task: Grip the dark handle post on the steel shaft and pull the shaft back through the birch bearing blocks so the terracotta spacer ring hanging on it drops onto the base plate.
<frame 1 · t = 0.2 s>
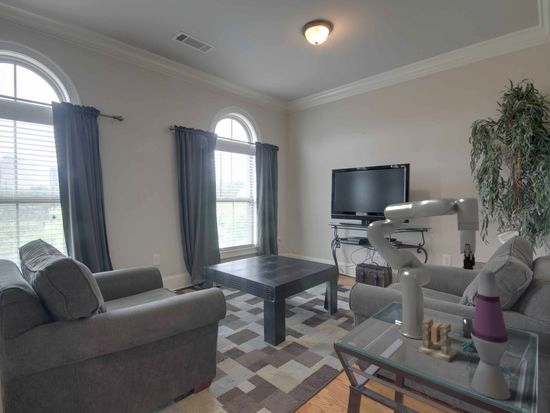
hand: (469, 267, 122), 36 cm above the table, tool pointing down, fingers open, 9 cm apart
spacer: (436, 339, 123), point 5 cm above the table, touching shaft
shaft: (446, 325, 120), point 12 cm above the table, slide at 0.0 cm, touching spacer
lamp: (490, 390, 98), on the table
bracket: (446, 355, 120), on the table
gear: (471, 351, 124), on the table
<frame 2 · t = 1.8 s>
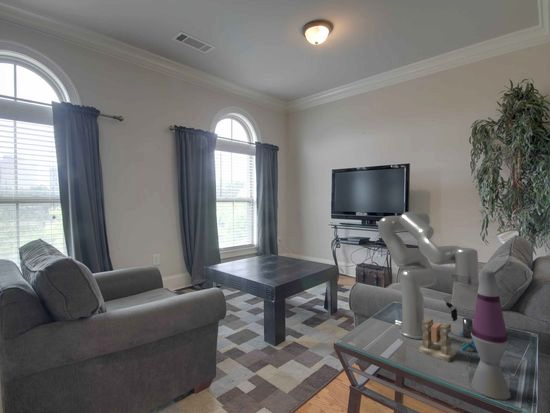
hand: (468, 323, 114), 16 cm above the table, tool pointing down, fingers open, 9 cm apart
nothing on the table moved.
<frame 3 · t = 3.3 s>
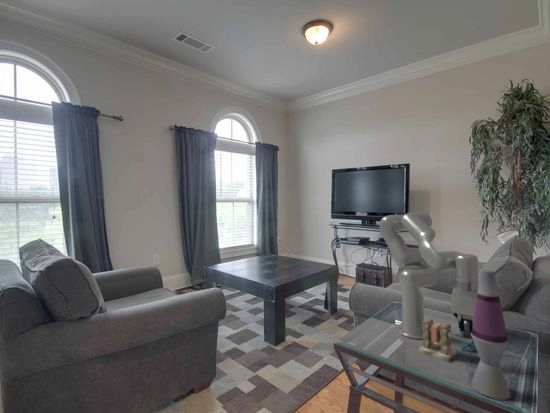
hand: (467, 331, 114), 12 cm above the table, tool pointing down, fingers closed on shaft, 3 cm apart
shaft: (446, 325, 120), point 12 cm above the table, slide at 0.0 cm, touching gripper, spacer
everything else where it was.
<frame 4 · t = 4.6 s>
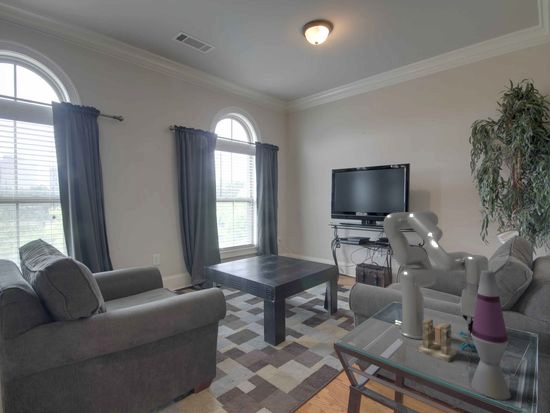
hand: (477, 334, 112), 12 cm above the table, tool pointing down, fingers closed on shaft, 3 cm apart
spacer: (440, 341, 122), point 5 cm above the table
shaft: (455, 327, 118), point 12 cm above the table, slide at 3.3 cm, touching gripper
everything else where it was.
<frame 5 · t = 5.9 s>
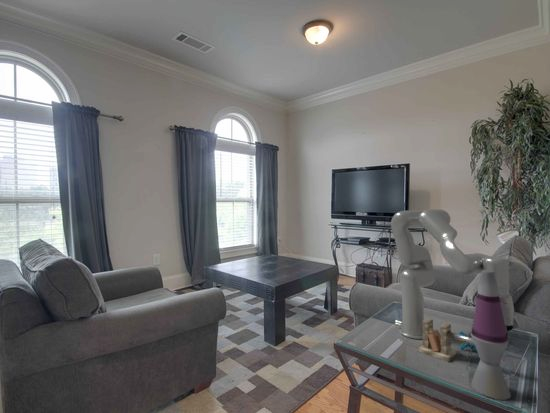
hand: (497, 339, 107), 12 cm above the table, tool pointing down, fingers closed on shaft, 3 cm apart
spacer: (438, 348, 123), point 2 cm above the table, tilted 19°, touching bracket
shaft: (472, 332, 113), point 13 cm above the table, slide at 9.4 cm, touching gripper
everything else where it was.
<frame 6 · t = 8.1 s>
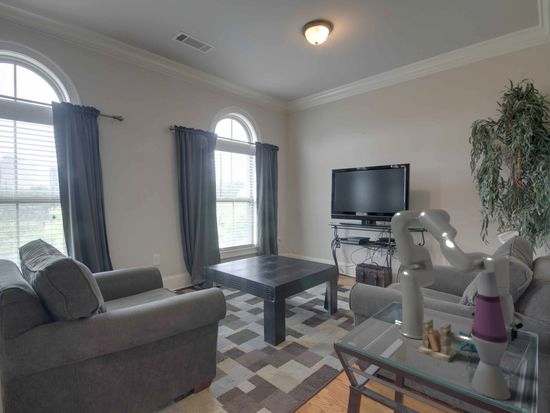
hand: (496, 335, 108), 14 cm above the table, tool pointing down, fingers open, 9 cm apart
shaft: (473, 332, 113), point 12 cm above the table, slide at 9.5 cm
everything else where it was.
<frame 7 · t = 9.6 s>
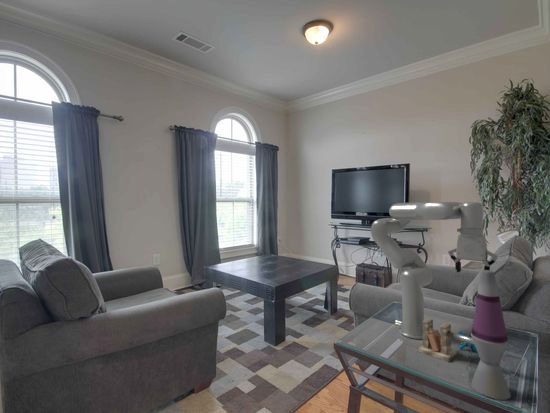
hand: (472, 273, 119), 34 cm above the table, tool pointing down, fingers open, 9 cm apart
nothing on the table moved.
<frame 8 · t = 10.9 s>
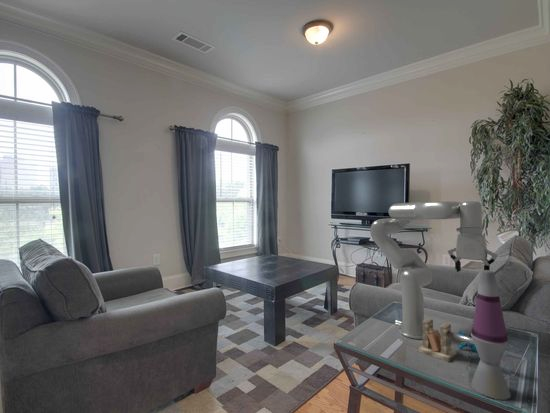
hand: (472, 273, 119), 34 cm above the table, tool pointing down, fingers open, 9 cm apart
at the end: shaft slide at 9.5 cm; spacer inside the target area on the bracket (0.6 cm from its centre), point 1.8 cm above the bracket's base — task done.
